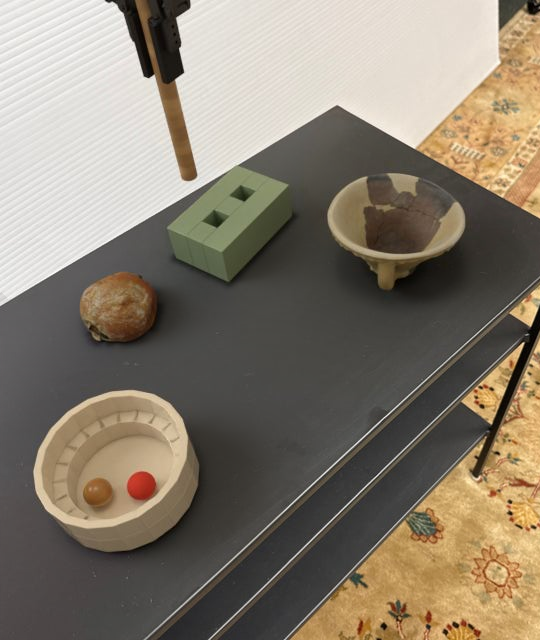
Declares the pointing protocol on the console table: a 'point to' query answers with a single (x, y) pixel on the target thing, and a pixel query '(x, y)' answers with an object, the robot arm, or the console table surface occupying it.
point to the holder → (231, 222)
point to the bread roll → (118, 307)
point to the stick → (170, 105)
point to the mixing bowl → (117, 469)
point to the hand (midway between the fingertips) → (164, 74)
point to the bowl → (395, 223)
